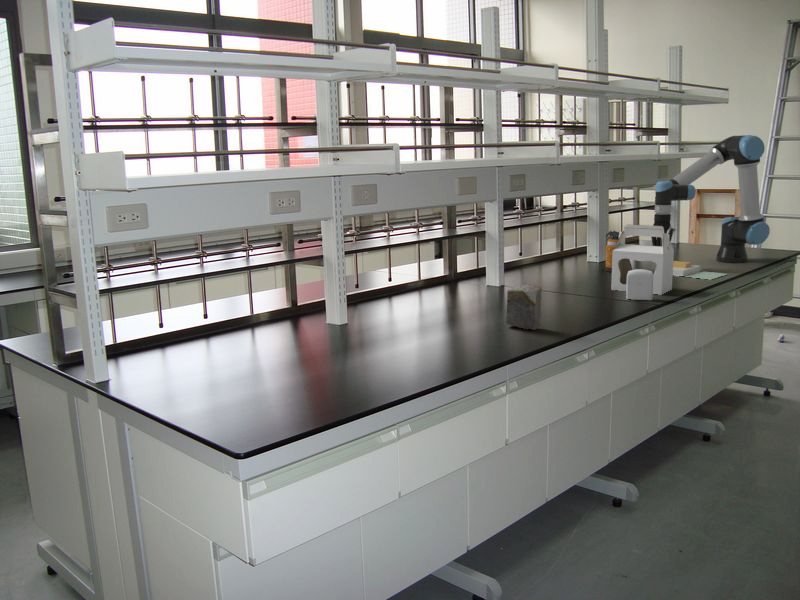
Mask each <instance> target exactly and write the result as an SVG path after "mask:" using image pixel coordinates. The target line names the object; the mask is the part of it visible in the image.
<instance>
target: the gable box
mask: <svg viewBox="0 0 800 600" xmlns="http://www.w3.org/2000/svg"><path fill="white" fill-rule="evenodd" d="M618 232H619V239H618V241H617V243H616V245H615V247H614V249H613V257H612V272H611V285H610V287H611V288H610V289H611V291H615V290H618V291H617V292H625V291H626V287H627V274H628V271H631V270H633V267H632V263H631V260H633V261H638V262H653V263H655V265H656V266H655V268H656V270H654V272H653V273H652V274H653V294H658V295H657V296H663V295H665V294H666V292H667V293H668V291H669V292H671V291H672V290H673V277H674V276H673V261H675V260H674V259H675V258H674V255H675V249H674V247H673V245H672V241H671V242H670V234H668V233H667V234H666V233H664V227H663V226H653V225H646V224H626V225H624V229H623V231H621V230H620V231H618ZM627 236H629V237H630V236H635V237H637V236H638V237H656V238H657V237H661V238H662V246H653V245H648V244H633V243H626V238H627ZM670 290H671V291H670ZM664 293H665V294H664ZM662 294H663V295H662Z"/></svg>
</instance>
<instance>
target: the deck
mask: <svg viewBox="0 0 800 600" xmlns="http://www.w3.org/2000/svg"><path fill="white" fill-rule="evenodd" d="M655 270H656V267H655ZM655 270H654V271H655ZM701 270H702V265H697V264H691V267H688V268H679V267H673V275H674V276H673V277H679V276H687V275H690V274H693V273H696V272H700V271H701ZM701 272H702V271H701Z"/></svg>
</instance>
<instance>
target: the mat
mask: <svg viewBox="0 0 800 600" xmlns="http://www.w3.org/2000/svg"><path fill="white" fill-rule="evenodd" d="M725 275H726V276H728V273H721V272H713V271H712V272H711V271H703V270H702V271H701V272H699V273H695V274H692V275H688V276H685V277H684V278H687V277H692V278H691V279H696V278H700V279H699V280H704V279H708V280H707V281H712V279H713V280H715V278H716V279H719V278H721V276H722V277H725ZM718 277H719V278H718Z"/></svg>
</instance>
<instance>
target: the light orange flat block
mask: <svg viewBox="0 0 800 600" xmlns="http://www.w3.org/2000/svg"><path fill="white" fill-rule="evenodd" d="M691 265H692V261H691V262H689V261H681V260H673V267H679V268H688V267H691Z"/></svg>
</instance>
